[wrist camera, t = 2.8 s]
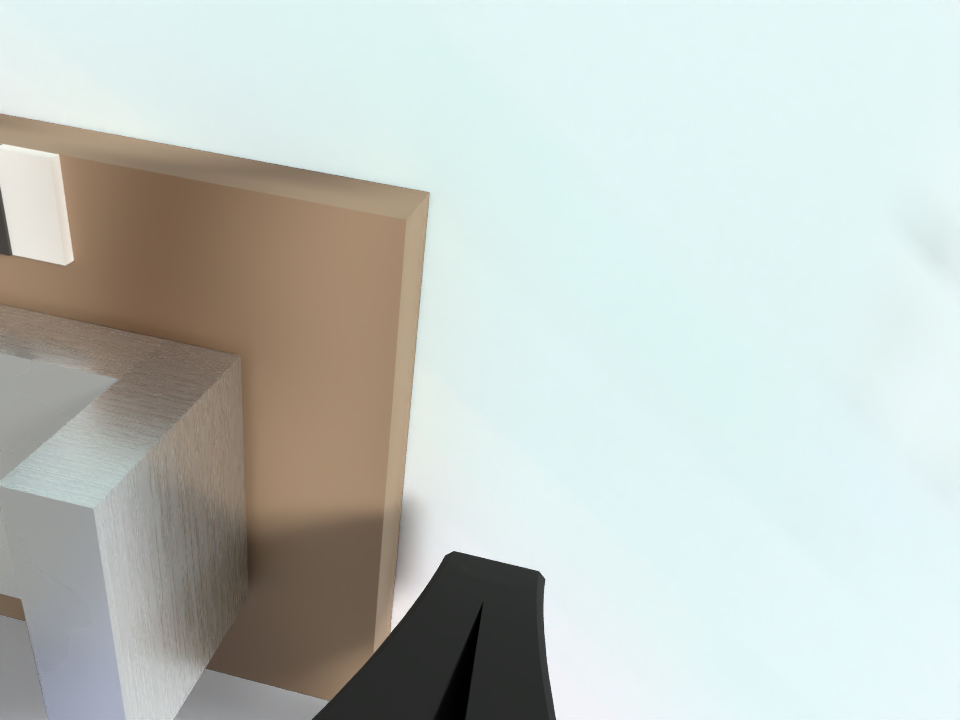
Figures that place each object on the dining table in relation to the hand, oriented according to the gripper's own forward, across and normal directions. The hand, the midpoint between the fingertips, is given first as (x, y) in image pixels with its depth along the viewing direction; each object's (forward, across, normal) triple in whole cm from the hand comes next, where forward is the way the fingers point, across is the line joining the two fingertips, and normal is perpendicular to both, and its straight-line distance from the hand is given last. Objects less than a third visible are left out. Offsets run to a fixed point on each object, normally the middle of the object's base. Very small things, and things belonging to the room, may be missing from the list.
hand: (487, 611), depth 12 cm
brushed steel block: (+1, +8, -1) cm, 9 cm away
